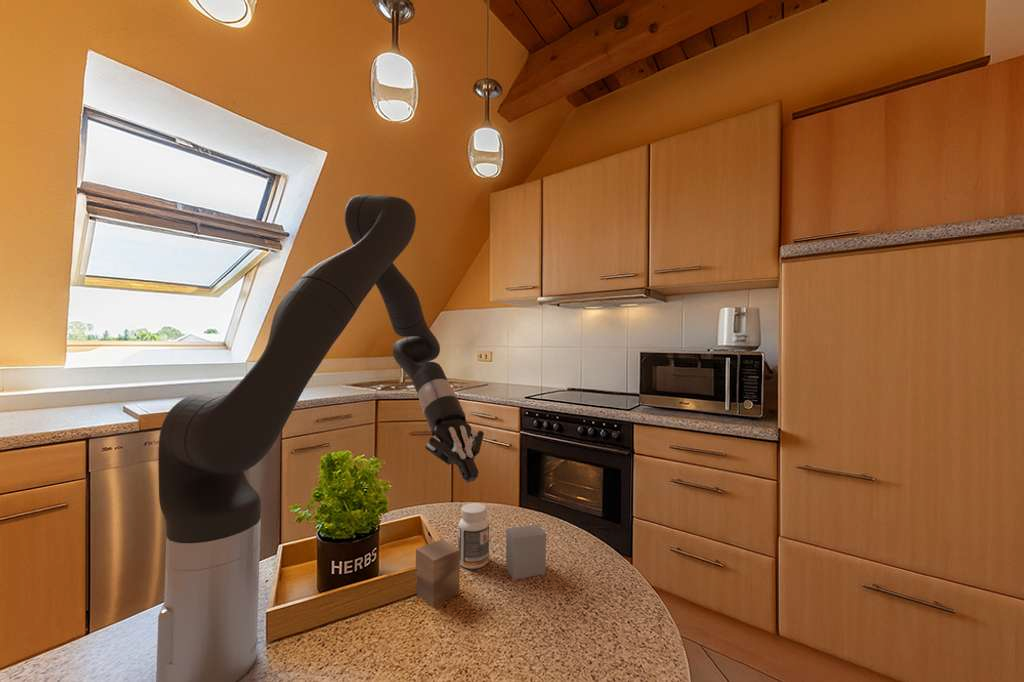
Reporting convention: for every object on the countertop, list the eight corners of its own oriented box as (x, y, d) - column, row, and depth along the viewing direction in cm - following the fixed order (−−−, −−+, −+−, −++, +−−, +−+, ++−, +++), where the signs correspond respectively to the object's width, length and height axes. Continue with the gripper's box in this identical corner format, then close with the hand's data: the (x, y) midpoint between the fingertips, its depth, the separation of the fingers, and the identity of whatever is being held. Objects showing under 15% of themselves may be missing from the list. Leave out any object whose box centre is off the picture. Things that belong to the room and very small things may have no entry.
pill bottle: (494, 559, 75) (495, 505, 75) (476, 573, 70) (477, 516, 71) (470, 551, 78) (471, 499, 78) (451, 564, 73) (452, 509, 74)
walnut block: (432, 607, 61) (433, 560, 61) (415, 592, 65) (416, 548, 65) (459, 593, 65) (459, 549, 65) (441, 580, 68) (442, 538, 68)
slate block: (513, 579, 69) (514, 538, 69) (505, 567, 73) (506, 528, 73) (545, 573, 71) (546, 533, 71) (536, 562, 75) (537, 524, 75)
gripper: (418, 396, 78) (449, 475, 69) (474, 392, 87) (509, 462, 77) (405, 419, 82) (433, 497, 73) (460, 414, 91) (492, 483, 81)
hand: (472, 479), depth 75 cm, fingers closed
